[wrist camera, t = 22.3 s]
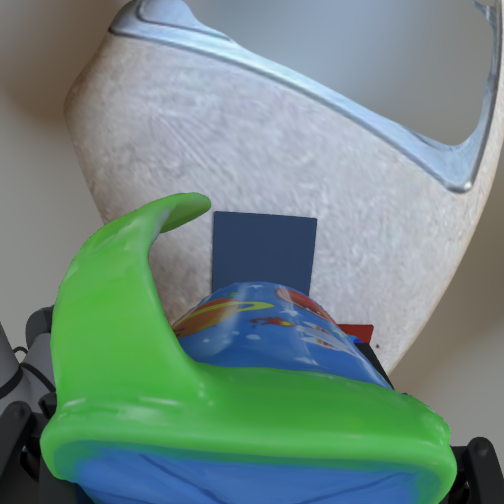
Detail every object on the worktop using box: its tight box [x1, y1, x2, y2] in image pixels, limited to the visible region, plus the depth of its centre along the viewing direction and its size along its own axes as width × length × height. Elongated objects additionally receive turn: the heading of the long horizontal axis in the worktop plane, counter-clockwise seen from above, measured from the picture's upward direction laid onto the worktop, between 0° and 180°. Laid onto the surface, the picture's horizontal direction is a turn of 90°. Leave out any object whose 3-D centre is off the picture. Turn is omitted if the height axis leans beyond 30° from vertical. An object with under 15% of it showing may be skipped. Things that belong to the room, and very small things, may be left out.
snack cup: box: [40, 192, 457, 504], centre depth 9 cm, size 16×10×10 cm
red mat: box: [337, 324, 374, 343], centre depth 33 cm, size 9×9×1 cm
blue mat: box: [212, 211, 317, 297], centre depth 31 cm, size 11×11×1 cm
